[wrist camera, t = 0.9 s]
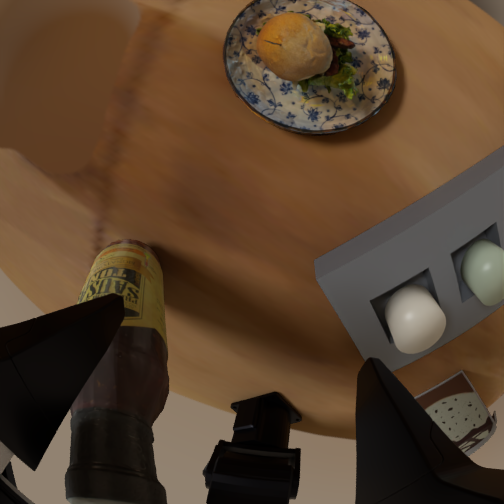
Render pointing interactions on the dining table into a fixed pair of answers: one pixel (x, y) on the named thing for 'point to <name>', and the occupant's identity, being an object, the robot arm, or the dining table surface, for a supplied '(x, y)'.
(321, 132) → the burger
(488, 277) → the sage button
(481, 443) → the food container
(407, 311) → the cream button
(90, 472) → the sauce bottle
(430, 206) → the panel
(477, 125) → the dining table surface
